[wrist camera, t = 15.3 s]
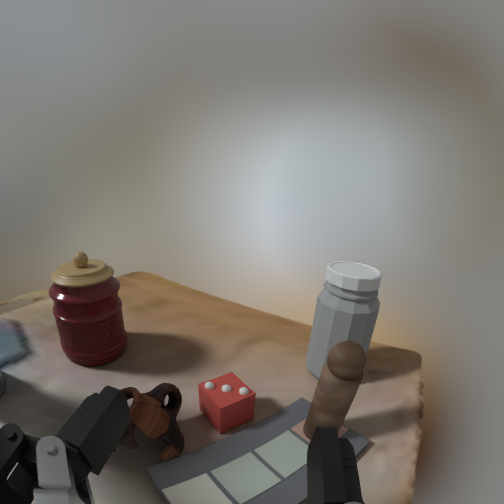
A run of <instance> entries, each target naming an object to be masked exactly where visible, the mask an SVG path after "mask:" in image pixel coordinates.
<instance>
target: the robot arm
mask: <svg viewBox="0 0 504 504" xmlns="http://www.w3.org/2000/svg"><path fill="white" fill-rule="evenodd" d="M5 384H6V383H5V379H4V377H3V375H2V372H1V370H0V396H1V395H2V394H3V392H4V389H5ZM130 418H131V413H130V410H129V406H128V403H127V400H126V396H125V393H124V391H122V390H119V389H116V388H113V387H111V386H106V387H105V388H104V389H103V390H102V391H101V392H100V394H98V393H94V394H92V395H90V396H89V397H87V398H86V399H85V400H84V401H83V403H82V404H81V405H80V407H78V409H77V410H76V411H75V413H74V414H73V415H72V416H71V417H70V419H69V420H68V421H67V422H66V424H65V425H64V426H63V427H62V429H61V430H60V431H59V432H58V433H57V435H55V436H45V437H43V438H41V439H39V438H36V437H33V436H29V435H26V434H24V433H23V431H22V430H21V428H20V427H19V426H18V425H16V424H6V425H4V426H3V427H2V428H1V429H0V504H31V503H32V501H33V499H34V502H35V504H95V502H94V499H93V495H92V492H91V488H90V484H89V480H88V477H87V476H88V474H89V472H92V473H94V474H97V475H99V474H100V472H101V470H102V468H103V467H104V465H105V463H106V462H107V460H108V458H109V457H110V455H111V453H112V451H113V450H114V448H115V446H116V445H117V443H118V441H119V440H120V438H121V436H122V435H123V433H124V431H125V430H126V428H127V426H128V425H129V422H130ZM355 458H356V457H355V452H354V447H353V445H352V444H351V443H350V441H349V440H348V438H338V432H337V427H336V426H317V427H316V429H315V431H314V434H313V436H312V439H311V441H310V443H309V446H308V450H307V504H365V503H364V502H363V499H362V495H361V488H360V481H359V475H358V469H357V463H356V460H355ZM17 462H18V465H17V466H16V468H15V469H14V471H13V472H12V474H11V475H10V477H9V478H8V480H7V477H8V475H9V473H10V472H11V470H12V469H13V467H14V466H15V465H16V463H17Z"/></svg>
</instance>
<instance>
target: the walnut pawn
mask: <svg viewBox="0 0 504 504" xmlns="http://www.w3.org/2000/svg"><path fill="white" fill-rule="evenodd" d="M365 363H366V354H365V351H364V349H363V348H362V346H361V345H360V344H358V343H356V342H354V341H349V340H348V341H342V342H339V343H337V344H336V345H334V346H333V347H332V349H331V350H330V352H329V354H328V357H327V362H326V363H325V364H324V365H323V367H322V371H321V374H320V377H319V381H318V384H317V387H316V391H315V394H314V397H313V400H312V403H311V406H310V409H309V412H308V415H307V418H306V421H305V424H304V427H303V432H304V434H305V436H306V437H307V438H308V439H310V440H311V439H312V436H313V434H314V431H315V429H316V427H317V426H336V427H337V432H338V431H339V429H340V427H341V425H342V423H343V421H344V419H345V417H346V415H347V413H348V410H349V408H350V406H351V404H352V401H353V399H354V397H355V394H356V392H357V390H358V387H359V385H360V382H361V380H362V377H363V372H362V370H363V368H364V366H365Z"/></svg>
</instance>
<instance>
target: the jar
mask: <svg viewBox="0 0 504 504" xmlns="http://www.w3.org/2000/svg"><path fill="white" fill-rule="evenodd" d="M381 276H382V273H381V272H380V271H379V270H377V269H376V268H374V267H371V266H369V265H366V264H361V263H355V262H348V261H338V262H332V263H330V264H329V265H328V266H327V269H326V276H325V278H326V279H327V281H326V282H325V284H324V287H325V288H324V289H323V290H322V291H321V292H320V294H319V295H318V297H317V303H316V309H315V315H314V321H313V326H312V332H311V337H310V342H309V347H308V353H307V357H306V364H307V367H308V370H309V372H310V373H311V374H312V375H313V376H314V377H316V378H317V379H318V380H319V377H320V374H321V371H322V367H323V365H324V364H325V363H326V362H327V357H328V354H329V352H330V350H331V349H332V347H333V346H334V345H336V344H337V343H339V342H342V341H348V340H349V341H354V342H356V343H358V344H360V345H361V346H362V348H363V349H364V351H365V354H367V351H368V347H369V344H370V341H371V337H372V334H373V330H374V326H375V323H376V319H377V315H378V311H379V305H380V302H379V300H378V298H377V296H378V290H377V289H379V286H380V281H381Z"/></svg>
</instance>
